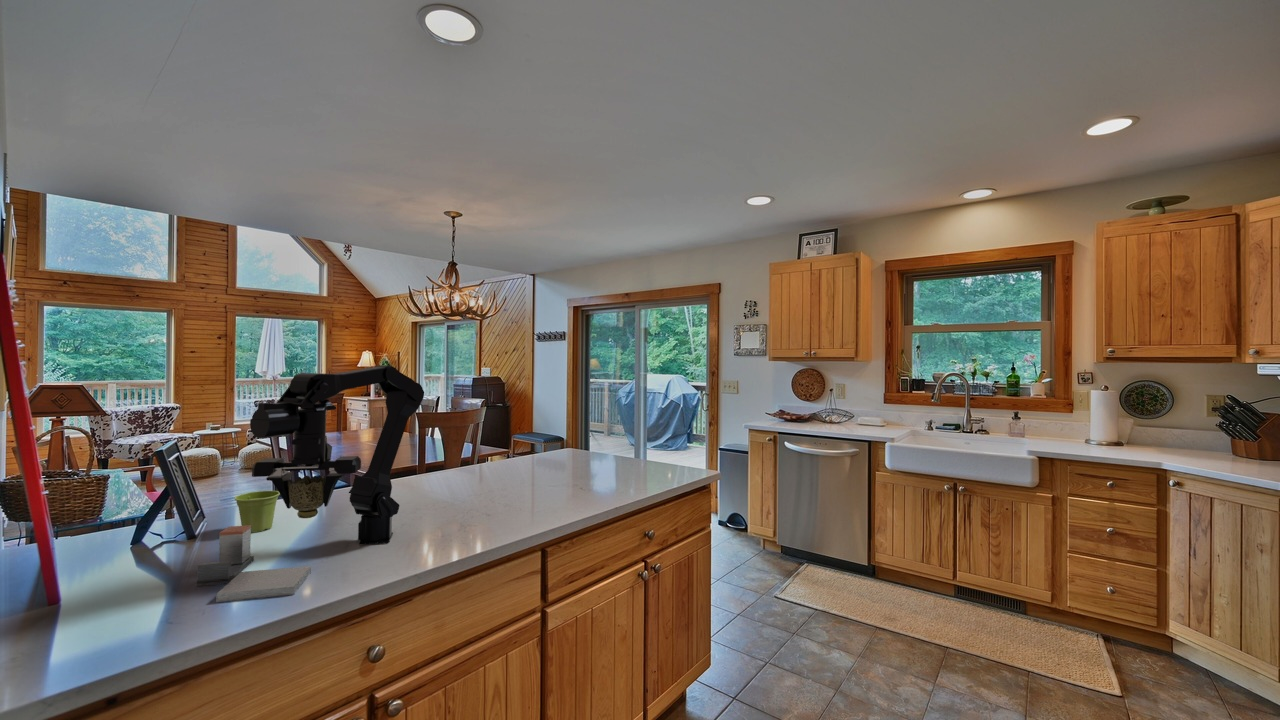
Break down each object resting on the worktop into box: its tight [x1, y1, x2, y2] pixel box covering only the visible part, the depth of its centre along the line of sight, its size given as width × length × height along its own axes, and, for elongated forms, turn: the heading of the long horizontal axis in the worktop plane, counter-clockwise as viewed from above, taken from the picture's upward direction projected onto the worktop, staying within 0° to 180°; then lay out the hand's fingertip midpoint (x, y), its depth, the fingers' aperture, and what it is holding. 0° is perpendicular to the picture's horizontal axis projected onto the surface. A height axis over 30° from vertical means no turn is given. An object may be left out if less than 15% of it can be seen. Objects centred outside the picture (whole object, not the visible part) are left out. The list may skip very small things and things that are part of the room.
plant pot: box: [233, 490, 281, 534], centre depth 132 cm, size 9×9×9 cm
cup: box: [287, 475, 327, 519], centre depth 110 cm, size 8×7×8 cm
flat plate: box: [216, 565, 312, 603], centre depth 99 cm, size 12×10×2 cm
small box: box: [218, 525, 252, 564], centre depth 109 cm, size 4×4×7 cm
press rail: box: [196, 555, 255, 587], centre depth 106 cm, size 5×12×4 cm, turn 17°
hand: (307, 507), depth 110 cm, fingers closed on cup, 6 cm apart
